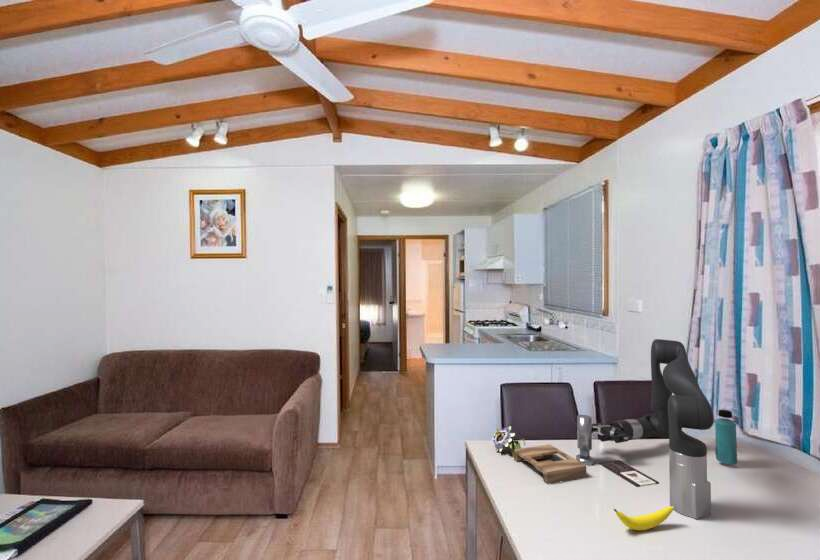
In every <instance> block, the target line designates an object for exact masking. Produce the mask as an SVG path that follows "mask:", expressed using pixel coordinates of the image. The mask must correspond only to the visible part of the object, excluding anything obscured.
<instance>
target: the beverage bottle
mask: <svg viewBox="0 0 820 560" xmlns="http://www.w3.org/2000/svg"><path fill="white" fill-rule="evenodd" d="M717 414H718V415H717V416H719V417H720V418H717V419H715V420H714V422H715V424H714V425H715V427H714V428H715V431H714V434H715V442H714V443H715V459H716V460H717V461H718V462H720V463H723V464H726V465H737V463H738V460H739V459H738V449H737V448H738V444H737V442H738V441H737V423H736V422H735V421H733V420H732V418H733V412H732V410H727V409H719V410H718V413H717Z"/></svg>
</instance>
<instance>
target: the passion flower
mask: <svg viewBox="0 0 820 560" xmlns="http://www.w3.org/2000/svg"><path fill="white" fill-rule="evenodd" d="M511 430H512V426H511V425H509V426H508V427H503V428H501V429H500V428H497V429H496V430H495V432H494V434H493V437H491V440H492V441H493V443H494V448H495V449H496V451H495V452H496V453H499V452H500V453H502V452H503V451H504V449H505V448H508V447H509V449H510V451H511V455H512V457H514V449H521V448H522V447H521V443H520V442H519V439H517V440H516V439H515V440H514V437H515V436H516V433H515V432H511ZM520 441H523V445H524V446H526V445H527V444H526V440H525V438H522V439H520Z"/></svg>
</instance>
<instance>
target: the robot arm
mask: <svg viewBox="0 0 820 560" xmlns="http://www.w3.org/2000/svg"><path fill="white" fill-rule="evenodd" d="M661 364H663V365H665V366H664V368H663V370H661ZM650 371H651V372H650V373H651V374H650V375H651V377H650V378H651V396H650V397H651V398H650V409H651V411H652V412H653V413H648V414H645V415H644V416H642V417H640V418H634V419H633V418H631V419H629V418H628V419H618V420H614V421H611V423H610V425H609V424H606V425H604V423H602V422H596V423H592V434H597V435H600V436H599V441H600V442H614V443H616V444H620V443H621V444H622V443H627V442H629V441H634V440H637V439H643V438H648V437H651V436H652V434H653V433H654V435H657V436H658V437H660V438H663V439H669V440H668V441H669V442H668V443H669V446H668V447H669V448H668V449H669V451H668V452H669V454H668V455H669V461H668V462H669V463H668V464H669V466H668V468H669V469H668V471H669V507H672V506H674V509H673V511H675V512H677V513H679V514H681V515H684V516H686V517H691V518H692V519H695V520H697V519H701V518H703V519H704V518H706V517H709V516H710V517H711V516H712V485H711V484H712V483H711V482H710V481H709V480H708V459H707V458H708V449H707V445H706V444H705V442H704V441H702V440H700V439H698V438H696V437H694V436H692V435H689V434H687V433H686V432H684V431H683V428H684V429H691V430H699V431H705V430H709V429H710V430H711V428H712V427H713V424H714V422H715V420H714V419H715V418H714V412H713V409H712V405H711V403H710V402H709V400H708V398H707V397H706V395H705V394H704V392H703V391H702V389H701V387H700V386H699V382H698V380H697V377H696V375H695V373H694V371H693V368H692V366H691V364H690V362H689V358H688V355H687V351H686V348H685V346H684V344H683V343H682V342H681V341H679V340H671V339H658V338H657V339H653V341H652V342H651V346H650Z"/></svg>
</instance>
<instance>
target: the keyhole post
mask: <svg viewBox="0 0 820 560" xmlns="http://www.w3.org/2000/svg"><path fill="white" fill-rule="evenodd" d="M576 418H577V419H576V421H577V422H576V425H577V426H576V427H577V428H576V429H577V432H576V433H577V435H576V436H577V441H576V442H577V449H579V454H576V456H575V459H576V460H577V461H579V462H581V463H583V464H584V465H587V466H586V467H591V466H590V465H592V466H593V465H594V463H595V462H594V461H595V460H594V457H593V456H591V453H590V451H591V450H592V449H593V437H592V436H593V433H592V424H593V423H592V422H593V419H592V416H590V415H587V414H577V417H576Z"/></svg>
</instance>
